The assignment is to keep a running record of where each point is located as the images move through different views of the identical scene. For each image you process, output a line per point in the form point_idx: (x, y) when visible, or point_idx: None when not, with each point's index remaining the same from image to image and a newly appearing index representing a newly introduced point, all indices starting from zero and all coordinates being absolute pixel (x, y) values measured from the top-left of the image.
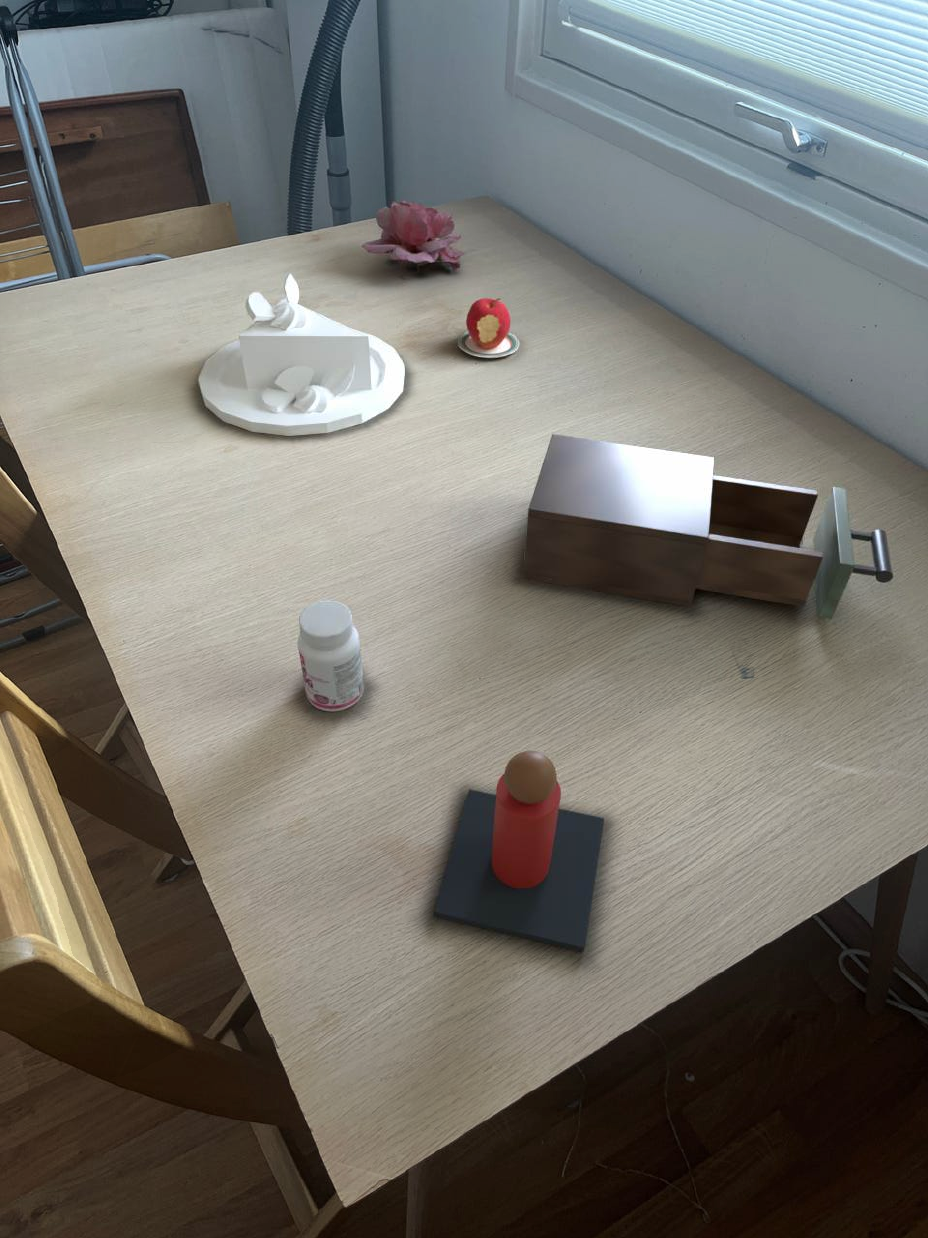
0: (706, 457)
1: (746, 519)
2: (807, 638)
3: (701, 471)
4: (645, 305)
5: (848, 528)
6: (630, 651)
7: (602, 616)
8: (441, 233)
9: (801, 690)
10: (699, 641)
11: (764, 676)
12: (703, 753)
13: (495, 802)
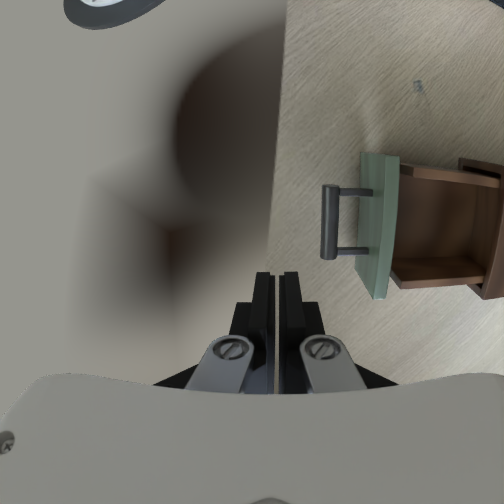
0: (488, 297)
1: (433, 261)
2: (375, 133)
3: (497, 273)
4: None
5: (384, 224)
6: (484, 105)
7: (501, 140)
8: None
9: (378, 71)
10: (450, 118)
11: (405, 83)
12: (429, 17)
13: (500, 1)
